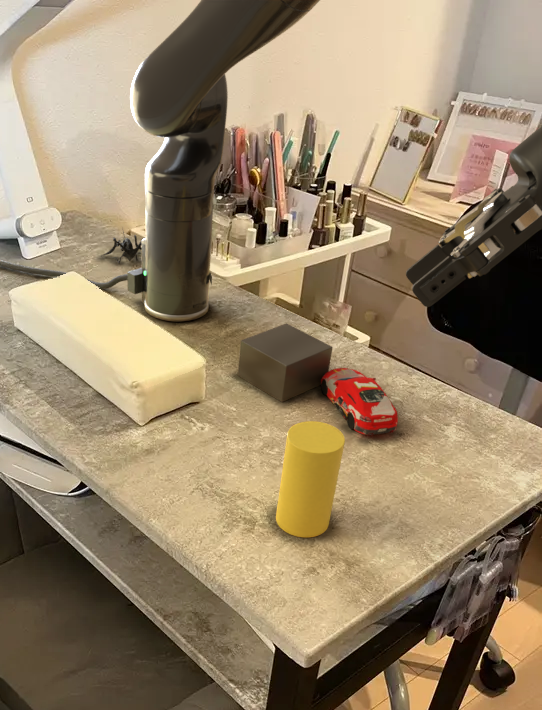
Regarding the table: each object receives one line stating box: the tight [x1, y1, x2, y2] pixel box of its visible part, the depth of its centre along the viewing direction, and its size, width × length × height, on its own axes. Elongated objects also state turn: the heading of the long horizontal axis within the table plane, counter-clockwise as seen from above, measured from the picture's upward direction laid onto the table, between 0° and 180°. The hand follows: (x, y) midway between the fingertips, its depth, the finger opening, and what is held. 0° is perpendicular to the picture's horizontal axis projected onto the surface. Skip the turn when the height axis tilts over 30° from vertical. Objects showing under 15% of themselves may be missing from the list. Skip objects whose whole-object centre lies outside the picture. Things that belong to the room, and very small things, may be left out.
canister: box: [275, 420, 346, 538], centre depth 73 cm, size 5×5×10 cm
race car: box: [320, 367, 399, 436], centre depth 91 cm, size 13×5×4 cm, turn 12°
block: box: [237, 322, 334, 403], centre depth 96 cm, size 8×8×5 cm
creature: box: [100, 227, 145, 264], centre depth 126 cm, size 8×5×8 cm
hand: (414, 290), depth 66 cm, fingers open, 8 cm apart
